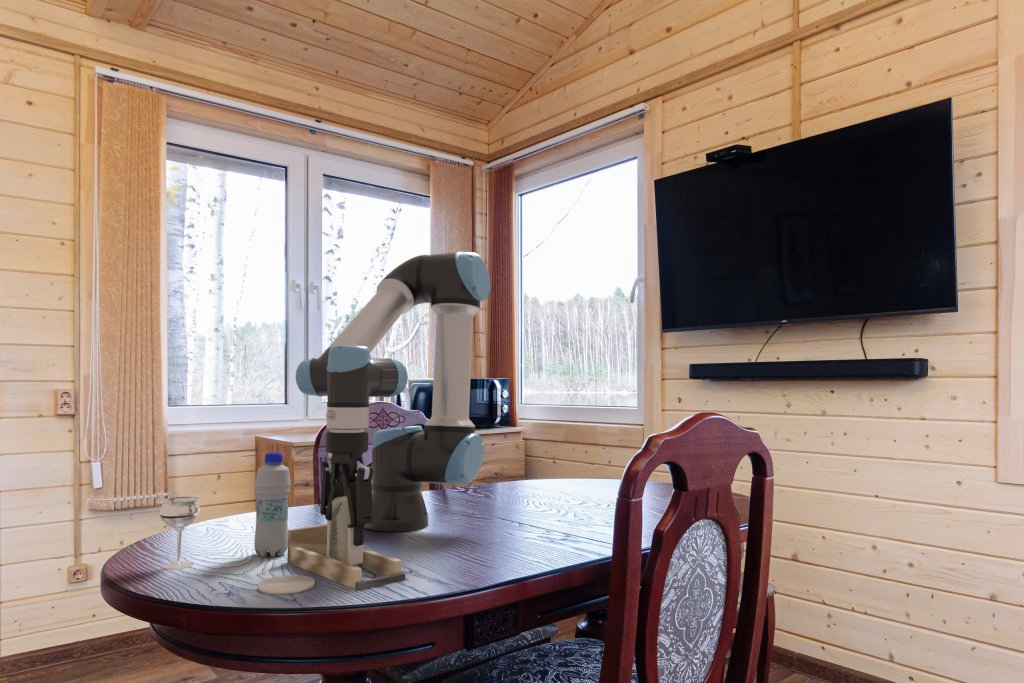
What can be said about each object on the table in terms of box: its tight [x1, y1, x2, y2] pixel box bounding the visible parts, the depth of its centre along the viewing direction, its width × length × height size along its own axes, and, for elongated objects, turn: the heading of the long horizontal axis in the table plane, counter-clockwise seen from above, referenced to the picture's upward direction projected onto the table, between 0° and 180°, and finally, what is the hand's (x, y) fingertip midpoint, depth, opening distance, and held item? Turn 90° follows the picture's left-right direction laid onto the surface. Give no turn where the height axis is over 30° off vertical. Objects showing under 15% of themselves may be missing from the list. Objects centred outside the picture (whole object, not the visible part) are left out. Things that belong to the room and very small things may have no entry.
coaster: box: [257, 574, 316, 596], centre depth 116 cm, size 9×9×1 cm
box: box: [330, 496, 359, 568], centre depth 126 cm, size 5×4×13 cm
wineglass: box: [159, 496, 201, 570], centre depth 129 cm, size 7×7×12 cm
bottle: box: [253, 451, 292, 558], centre depth 138 cm, size 7×7×20 cm
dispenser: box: [287, 523, 406, 591], centre depth 126 cm, size 24×9×6 cm, turn 45°
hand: (344, 559), depth 126 cm, fingers closed on box, 6 cm apart
